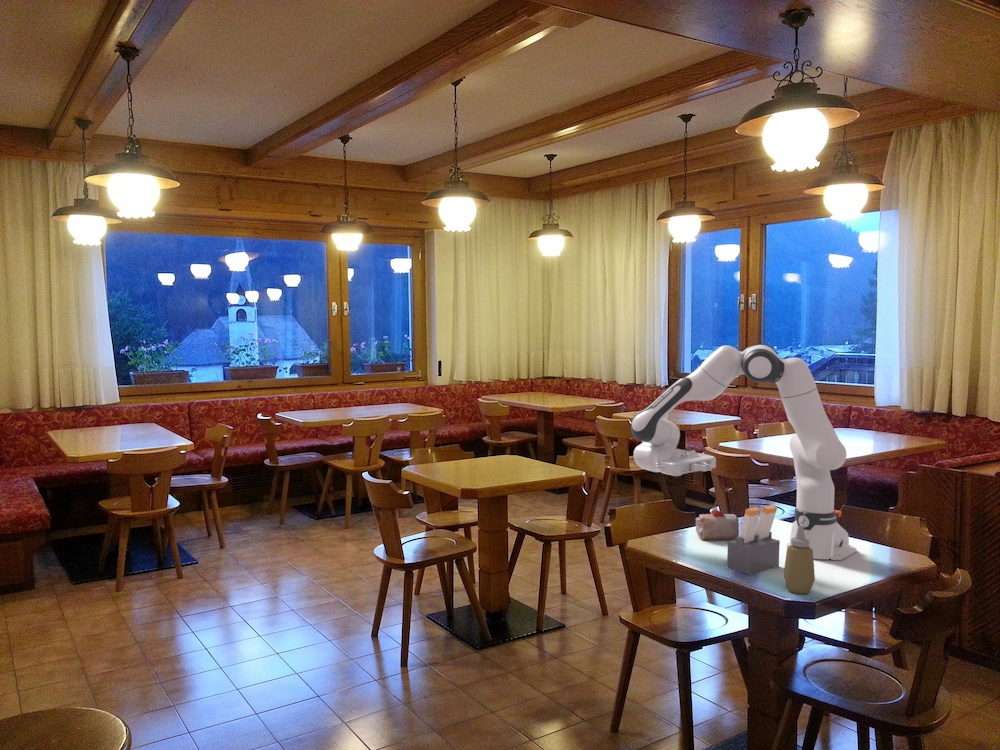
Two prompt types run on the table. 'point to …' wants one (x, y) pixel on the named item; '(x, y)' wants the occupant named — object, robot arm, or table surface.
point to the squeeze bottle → (799, 564)
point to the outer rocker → (750, 524)
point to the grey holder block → (753, 554)
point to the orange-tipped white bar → (765, 521)
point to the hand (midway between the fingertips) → (708, 468)
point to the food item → (717, 526)
